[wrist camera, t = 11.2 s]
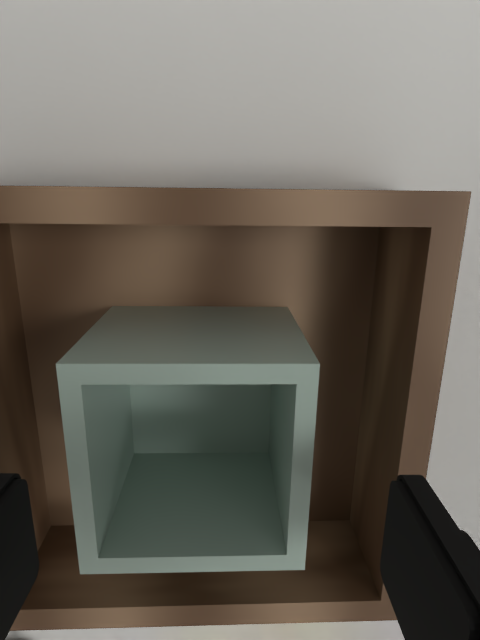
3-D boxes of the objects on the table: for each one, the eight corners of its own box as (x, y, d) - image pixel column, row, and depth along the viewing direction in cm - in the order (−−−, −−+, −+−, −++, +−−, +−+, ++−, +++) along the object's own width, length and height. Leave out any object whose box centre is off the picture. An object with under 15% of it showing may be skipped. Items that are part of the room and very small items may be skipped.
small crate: (287, 306, 17) (319, 364, 12) (280, 457, 19) (304, 569, 14) (112, 305, 17) (55, 363, 11) (123, 458, 19) (80, 574, 13)
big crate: (401, 191, 17) (471, 191, 12) (363, 524, 22) (403, 620, 17) (-13, 186, 16) (-111, 183, 12) (38, 530, 21) (-17, 631, 16)
